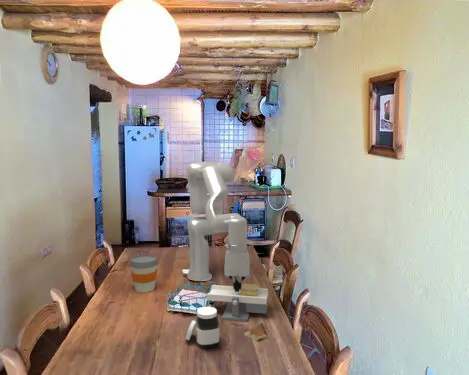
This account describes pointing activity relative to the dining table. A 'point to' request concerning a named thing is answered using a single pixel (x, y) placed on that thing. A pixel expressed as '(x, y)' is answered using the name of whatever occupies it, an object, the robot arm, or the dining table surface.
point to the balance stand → (236, 311)
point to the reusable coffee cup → (144, 272)
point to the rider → (249, 290)
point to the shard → (257, 332)
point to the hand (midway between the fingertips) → (237, 290)
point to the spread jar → (205, 327)
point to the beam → (240, 297)
